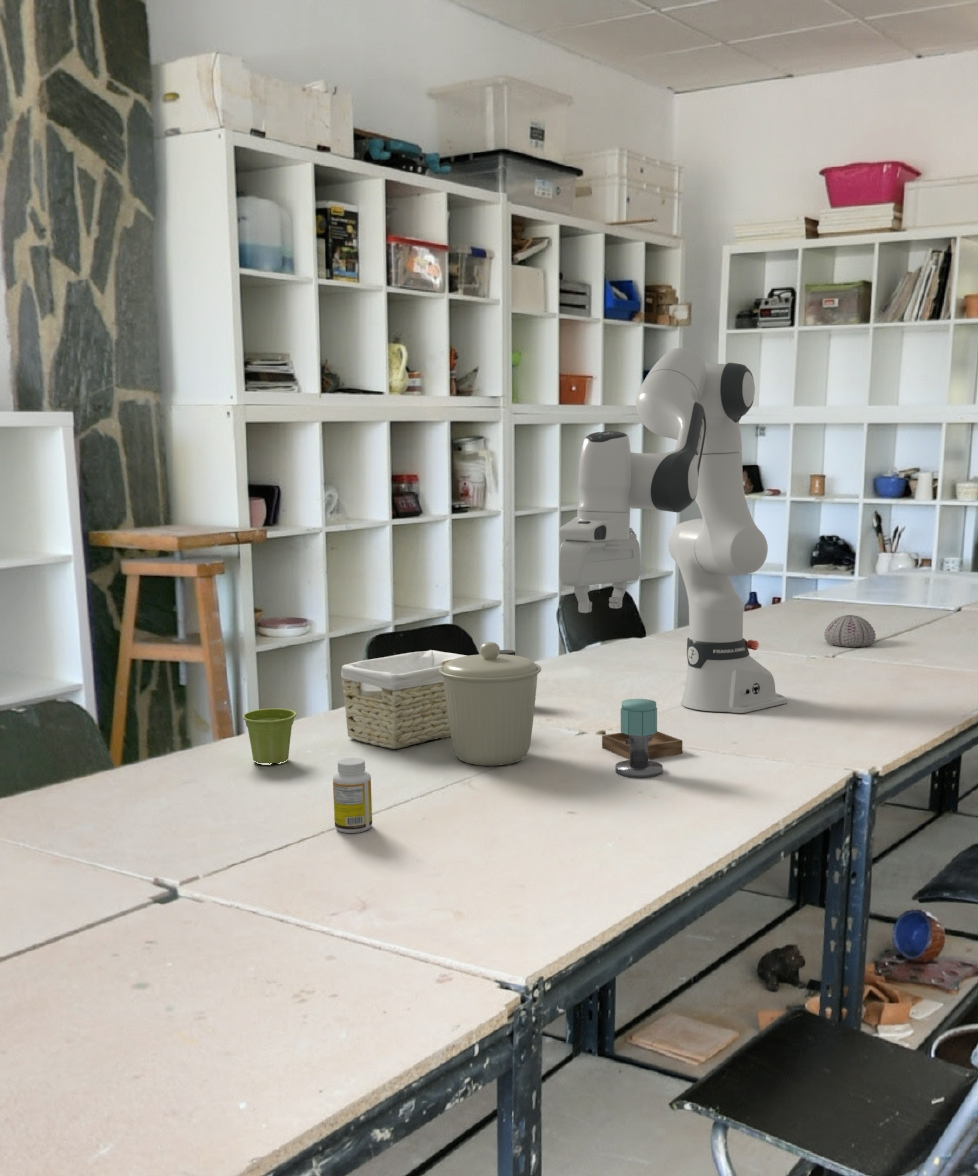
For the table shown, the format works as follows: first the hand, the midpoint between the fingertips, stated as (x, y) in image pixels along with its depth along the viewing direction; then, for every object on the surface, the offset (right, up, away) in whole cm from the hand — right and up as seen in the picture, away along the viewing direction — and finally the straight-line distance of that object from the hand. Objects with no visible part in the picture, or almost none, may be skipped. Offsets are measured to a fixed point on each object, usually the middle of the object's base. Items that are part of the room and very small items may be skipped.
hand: (600, 610), depth 203 cm
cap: (+7, -21, 0) cm, 22 cm away
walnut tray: (+9, -26, +14) cm, 31 cm away
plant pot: (-58, -28, +11) cm, 65 cm away
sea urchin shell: (+78, -12, +119) cm, 142 cm away
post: (+7, -28, +1) cm, 28 cm away
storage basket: (-33, -25, +29) cm, 51 cm away
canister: (-18, -27, +11) cm, 34 cm away
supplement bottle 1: (-39, -32, -26) cm, 57 cm away
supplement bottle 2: (-15, -22, +51) cm, 58 cm away
